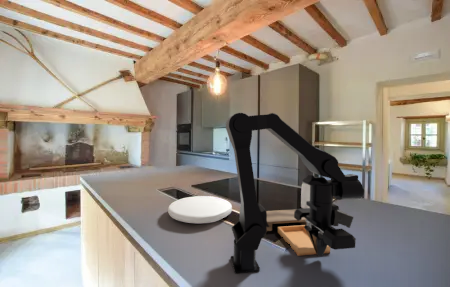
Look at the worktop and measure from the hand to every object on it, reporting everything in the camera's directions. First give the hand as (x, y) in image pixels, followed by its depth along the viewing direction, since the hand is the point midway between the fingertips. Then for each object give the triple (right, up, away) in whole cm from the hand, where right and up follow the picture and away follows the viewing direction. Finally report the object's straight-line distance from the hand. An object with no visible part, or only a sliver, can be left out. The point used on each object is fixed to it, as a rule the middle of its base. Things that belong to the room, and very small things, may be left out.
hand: (319, 255), depth 56 cm
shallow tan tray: (-1, -1, +9) cm, 10 cm away
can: (+13, 0, +40) cm, 42 cm away
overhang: (-4, 0, +23) cm, 23 cm away
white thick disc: (-36, 0, +32) cm, 48 cm away
